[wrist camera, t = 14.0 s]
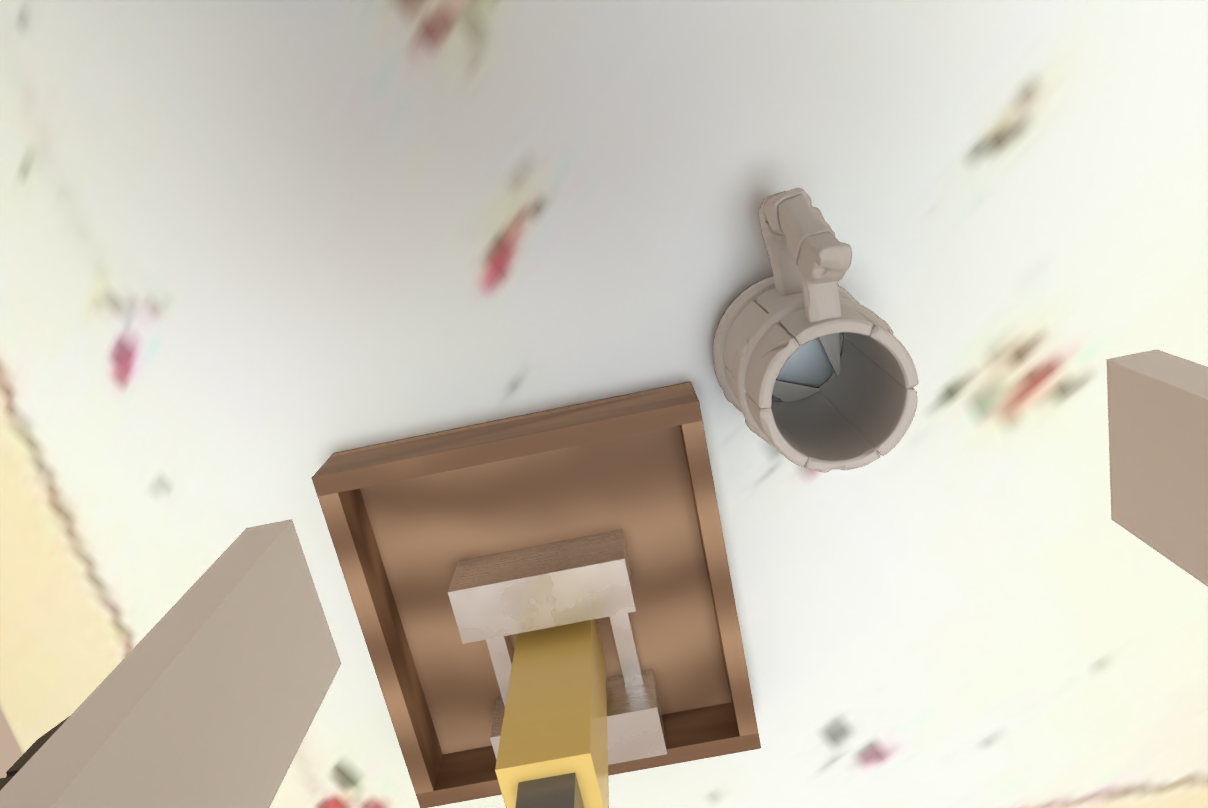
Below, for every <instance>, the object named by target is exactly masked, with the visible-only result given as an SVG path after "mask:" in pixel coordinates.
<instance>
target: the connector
mask: <svg viewBox="0 0 1208 808" xmlns="http://www.w3.org/2000/svg"><path fill="white" fill-rule="evenodd" d="M495 771H496V775H497V778H498V782H499V785H500V789H501V792H502V796H503V799H504V803H505V806H506V808H609V786H608V741H607V697H606V663H605V658H604V654H603V650H602V645H601V641H600V637H599V633H598V628H597V624H596V620H595V619H593V620H587V621H582V622H577V623H571V624H566V625H561V626H555V627H550V628H545V629H539V630H534V631H529V632H523V633H518V634H517V638H516V644H515V650H514V656H513V663H512V669H511V675H510V681H509V687H508V693H507V700H506V706H505V712H504V718H503V724H502V730H501V737H500V743H499V749H498V755H497V761H496V767H495Z"/></svg>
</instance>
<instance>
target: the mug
mask: <svg viewBox="0 0 1208 808" xmlns="http://www.w3.org/2000/svg"><path fill="white" fill-rule="evenodd" d="M759 220H760V224H761V230H762V235H763V238H764V241H765V244H766V248H767V251H768V255H769V259H770V263H771V267H772V272H773V276H772V277H769V278H766V279H764V280H761V281H759V282H758V283H756V284H754V285H752V286H750V287H749V288H748V289H746V290H745V291H744V292H742V293H741V294H740V295H739V296H738V297H737V298H736V299H735V300H734V301H733V302H732V303H731V305H730V306H729V307H728V309H727V310H726V312H725V313H724V315H723V317H722V318H721V320H720V322H719V325H718V328H717V331H716V335H715V339H714V346H713V361H714V368H715V372H716V376H717V378H718V381H719V383H720V386H721V387H722V389H723V390H724V395H725V397H726V399H727V400H728V401H729V402H731V403H733V404H734V406H735V407H736V408H737V409H739V410H740V411H741V412H742V413H743V414H744V416H745V422H746V425H747V426H748V427H749V429H750V430H751V431H753V432H754V433H756V434H757V435H758V436H759V437H761V438H762V439H764V440H765V441H766V442H767V443H769V444H770V445H772V446H773V447H775V448H776V449H777V450H778V451H779V452H780V453H781V454H782V455H784V456H785V457H786V458H787V459H788V460H790V461H791V462H793V463H795V464H797V465H799V466H801V467H803V466H804V467H805V468H806V469H810V470H815V471H820V472H828V471H830V470H832V469H841V470H850V469H854V468H858V467H862V466H865V465H867V464H869V463H871V462H873V461H874V460H876V459H878V458H879V457H880V455H882V456H884V455H886V454H887V453H888V452H889V451H890V450H892V449H893V448H894V447H895V446H896V445H897V443H898V442H899V441H900V440H901V439H902V437H903V436H904V434H905V433H906V431H907V430H908V428H909V426H910V424H911V422H912V420H913V417H914V415H915V411H916V407H917V392H916V391H915V390H914V388H913V387H915V386H916V385H917V384H918V377H917V372H916V369H915V366H914V363H913V361H912V359H911V357H910V355H909V353H908V352H907V350H906V349H905V347H904V346H903V345H902V344H901V342H900V341H899V340H898V339H897V338H896V337H895V336H894V335H893V331H892V329H891V328H890V327H889V325H888V324H887V323H886V322H885V321H884V320H882V319H881V318H879V317H878V316H877V315H876V314H875V313H873V312H872V311H871V310H869V309H867V308H866V307H864V306H862V305H861V304H860V303H859V302H858V301H857V300H855V299H854V298H853V297H852V296H851V295H850V294H849V293H848V292H847V291H845V290H844V289H843V288H842V287H840V286H839V285H838V284H837V281H838V280H840V279H842V277H843V275H844V274H845V272H846V271H847V269H848V268H849V267H850V264H851V259H852V251H851V246H850V245H848V244H845V243H841V242H839V241H838V240H837V239H836V238H835V233H834V232H833V231H832V229H831V228H830V226H829V225H828V224H827V223H826V221H825V220H824V218H823V216H822V214H821V212H820V210H819V209H818V208H815V207H813V206H812V205H811V199H810V197H809V196H808V194H807V193H806V192H805V191H804V190H803V189H801V188H796V189H792V190H789V191H784V192H780V193H777V194H774V195H771V196H768V197H767V198H765V200H764V201H763V203H762V205H761V207H760V210H759ZM840 332H842V333H843V336H844V337H843V350H842V354H841V358H840ZM818 337H819V339H820V341H821V343H822V345H823V348H824V350H825V352H826V354H827V356H828V358H829V360H830V362H831V364H832V366H833V369H834V372H833V374H832V375H831V377H830V378H829V379H828V381H826V382H825V383H824V384H822V385H821V386H820V387H819V388H814V387H809V386H804V385H798V384H793V383H788V382H782V381H777V380H776V378H777V376H778V374H779V372H780V370H781V368H782V367H783V365H784V364H785V362H786V361H787V359H788V358H789V357H790V356H791V355H792V354H793V353H794V352H795V351H796V350H797V349H798V348H799V346H800V345H803V344H805V343H807V342H809V341H811V340H813V339H815V338H818ZM772 395H773V396H775V397H777V398H779V399H781V400H782V401H773V400H772ZM879 454H880V455H879Z"/></svg>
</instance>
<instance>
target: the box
mask: <svg viewBox="0 0 1208 808" xmlns="http://www.w3.org/2000/svg"><path fill="white" fill-rule="evenodd" d="M312 480H313V483H314V486H315V489H316V493H317V496H318V499H319V502H320V505H321V508H322V511H323V514H324V517H325V520H326V523H327V526H328V529H329V532H330V535H331V538H332V541H333V544H334V547H335V550H336V553H337V556H338V559H339V562H340V565H341V568H342V571H343V575H344V578H345V581H346V584H347V587H348V590H349V593H350V596H351V599H352V602H353V605H354V608H355V611H356V614H357V617H358V620H359V623H360V626H361V629H362V632H363V635H364V638H365V641H366V644H367V647H368V650H369V653H370V657H371V660H372V663H373V666H374V669H375V672H376V675H377V678H378V681H379V684H380V687H381V690H382V693H383V696H384V699H385V702H386V705H387V708H388V711H389V714H390V717H391V720H392V723H393V726H394V729H395V732H396V735H397V739H398V742H399V745H400V748H401V751H402V754H403V757H404V760H405V763H406V766H407V769H408V772H409V775H410V778H411V781H412V784H413V787H414V790H415V793H416V796H417V799H418V802H419V805H420V808H428V807H434V806H439V805H445V804H450V803H456V802H462V801H467V800H473V799H479V798H484V797H490V796H495V795H501V794H502V792H501V789H500V785H499V782H498V778H497V775H496V771H495V767H496V761H497V760H496V757H495V753H494V750H493V747H492V743H491V740H490V734H491V729H492V723H493V718H494V712H495V707H496V701H497V697H502V696H501V692H500V689H499V685H498V681H497V678H496V674H495V671H494V667H493V664H492V660H491V657H490V653H489V649H488V646H487V642H486V640H481V641H475V642H470V643H465V644H463V643H462V640H461V637H460V633H459V630H458V626H457V623H456V619H455V616H454V612H453V609H452V606H451V602H450V599H449V595H448V590H449V587H450V584H451V581H452V578H453V575H454V572H455V569H456V566H457V563H458V561H459V560H464V559H469V558H474V557H479V556H485V555H490V554H495V553H500V552H505V551H511V550H516V549H521V548H526V547H531V546H537V545H542V544H547V543H552V542H558V541H563V540H568V539H573V538H578V537H584V536H589V535H594V534H599V533H604V532H610V531H615V530H620V529H622V530H623V535H624V539H625V544H626V548H627V553H628V558H629V562H630V567H631V571H632V576H633V583H634V594H635V605H636V612H630V618H631V622H632V627H633V631H634V636H635V640H636V645H637V650H638V654H639V659H640V663H641V668H642V671H644V670H649V669H653V673H654V677H655V682H656V687H657V691H658V696H659V700H660V705H661V710H662V715H663V723H664V731H665V739H666V748H667V754H666V755H660V756H655V757H649V758H643V759H638V760H632V761H627V762H621V763H615V764H610V765H608V775H614V774H619V773H625V772H630V771H636V770H642V769H647V768H653V767H659V766H664V765H670V764H675V763H681V762H687V761H692V760H698V759H703V758H709V757H715V756H720V755H726V754H732V753H737V752H743V751H748V750H754V749H760V748H761V745H760V740H759V734H758V729H757V723H756V717H755V712H754V706H753V701H752V695H751V689H750V684H749V678H748V673H747V667H746V662H745V656H744V650H743V645H742V639H741V634H740V628H739V622H738V617H737V611H736V606H735V600H734V595H733V589H732V583H731V578H730V572H729V567H728V561H727V555H726V550H725V544H724V539H723V533H722V528H721V522H720V516H719V511H718V505H717V500H716V494H715V488H714V483H713V477H712V472H711V466H710V460H709V455H708V449H707V444H706V438H705V433H704V427H703V421H702V416H701V410H700V405H699V400H698V398H697V396H696V393H695V391H694V389H693V386H692V384H691V382H687V383H682V384H677V385H672V386H667V387H662V388H657V389H652V390H647V391H642V392H637V393H632V394H627V395H622V396H617V397H612V398H607V399H602V400H597V401H592V402H587V403H582V404H577V405H572V406H567V407H562V408H557V409H552V410H547V411H542V412H537V413H532V414H527V415H522V416H517V417H512V418H507V419H502V420H497V421H492V422H487V423H482V424H477V425H472V426H467V427H462V428H457V429H452V430H447V431H442V432H437V433H432V434H427V435H422V436H417V437H412V438H407V439H402V440H397V441H392V442H387V443H382V444H377V445H372V446H367V447H362V448H357V449H352V450H347V451H342V452H337V453H333V454H332V456H331V457H330V458H329V459H328V460H327V461H326V462H325V463H324V465H323V466H322V467H321V468H320V469H319V470H318V471H317V473H316V474H315V475H314V476H313V477H312ZM595 620H596V624H597V628H598V633H599V637H600V641H601V645H602V650H603V654H604V658H605V663H606V677H611V676H617V675H622V669H621V665H620V661H619V656H618V652H617V647H616V643H615V639H614V634H613V630H612V626H611V621H610V617H604V618H598V619H595ZM509 637H510V640H511V644H512V648H513V651H514V650H515V644H516V638H517V634H513V635H509Z"/></svg>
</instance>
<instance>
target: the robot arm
mask: <svg viewBox="0 0 1208 808" xmlns="http://www.w3.org/2000/svg"><path fill="white" fill-rule="evenodd" d="M1107 387H1108V420H1109V453H1110V486H1111V519H1112V520H1113V521H1115V522H1116V523H1117V524H1119V525H1120V526H1122V527H1123V528H1125V529H1126V530H1127V531H1129V532H1130V533H1132V534H1133V535H1135V536H1136V537H1137V538H1139V539H1140V540H1142V541H1143V542H1145V543H1146V544H1147V545H1149V546H1150V547H1152V548H1153V549H1155V550H1156V551H1157V552H1159V553H1160V554H1162V555H1163V556H1165V557H1166V558H1168V559H1169V560H1170V561H1172V562H1173V563H1175V564H1176V565H1178V566H1179V567H1180V568H1182V569H1183V570H1185V571H1186V572H1188V573H1189V574H1190V575H1192V576H1193V577H1195V578H1196V579H1198V580H1199V581H1200V582H1202V583H1203V584H1205V585H1206V586H1208V367H1206V366H1203V365H1200V364H1197V363H1194V362H1192V361H1189V360H1186V359H1183V358H1180V357H1177V356H1174V355H1171V354H1168V353H1165V352H1162V351H1159V350H1152V351H1147V352H1142V353H1137V354H1132V355H1127V356H1122V357H1116V358H1111V359H1107ZM340 665H341V662H340V659H339V656H338V653H337V650H336V647H335V644H334V641H333V638H332V635H331V632H330V629H329V627H328V624H327V621H326V618H325V615H324V612H323V609H322V606H321V603H320V600H319V597H318V594H317V591H316V589H315V586H314V583H313V580H312V577H311V574H310V571H309V568H308V565H307V562H306V559H305V556H304V553H303V551H302V548H301V545H300V542H299V539H298V536H297V533H296V530H295V527H294V524H293V521H292V519H291V520H286V521H281V522H276V523H271V524H266V525H261V526H256V527H250V528H246V529H245V530H244V532H243V533H242V534H241V535H240V536H239V537H238V538H237V539H236V540H235V541H234V542H233V543H232V544H231V545H230V546H229V548H228V549H227V550H226V551H225V552H224V553H223V554H222V555H221V556H220V557H219V558H218V559H217V560H216V561H215V562H214V564H213V565H212V566H211V567H210V568H209V569H208V570H207V571H206V572H205V573H204V574H203V575H202V576H201V577H200V578H199V579H198V581H197V582H196V583H195V584H194V585H193V586H192V587H191V588H190V589H189V590H188V591H187V592H186V593H185V594H184V595H183V597H182V598H181V599H180V600H179V601H178V602H177V603H176V604H175V605H174V606H173V607H172V608H171V609H170V610H169V611H168V613H167V614H166V615H165V616H164V617H163V618H162V619H161V620H160V621H159V622H158V623H157V624H156V625H155V626H154V627H153V629H152V630H151V631H150V632H149V633H148V634H147V635H146V636H145V637H144V638H143V639H142V640H141V641H140V642H139V643H138V644H137V646H136V647H135V648H134V649H133V650H132V651H131V652H130V653H129V654H128V655H127V656H126V657H125V658H124V659H123V660H122V662H121V663H120V664H119V665H118V666H117V667H116V668H115V669H114V670H113V671H112V672H111V673H110V674H109V675H108V676H107V678H106V679H105V680H104V681H103V682H102V683H101V684H100V685H99V686H98V687H97V688H96V689H95V690H94V691H93V692H92V693H91V695H90V696H89V697H88V698H87V699H86V700H85V701H84V702H83V703H82V704H81V705H80V706H79V707H78V708H77V709H76V711H75V712H74V713H73V714H72V715H71V716H69V717H68V718H67V719H65V720H64V721H62V722H61V723H60V724H58V725H57V726H56V727H54V728H53V729H51V730H50V731H49V732H47V733H46V734H45V735H43V736H42V737H40V738H39V739H38V740H37V741H36V742H35V743H34V744H33V745H32V746H31V747H30V748H29V749H28V750H27V751H26V752H25V753H24V754H23V755H22V756H21V757H20V759H19V760H18V761H17V762H16V763H15V764H14V765H13V766H12V767H11V768H10V769H9V770H8V771H7V772H6V773H7V777H6V778H1V779H0V808H269V807H270V805H271V803H272V801H273V799H274V797H275V795H276V793H277V791H278V789H279V787H280V785H281V783H282V781H283V779H284V777H285V775H286V773H287V771H288V769H289V767H290V765H291V763H292V761H293V759H294V757H295V755H296V753H297V751H298V749H299V747H300V745H301V743H302V741H303V739H304V737H305V735H306V733H307V731H308V729H309V727H310V725H311V723H312V721H313V719H314V717H315V715H316V713H317V711H318V709H319V707H320V705H321V703H322V701H323V699H324V697H325V695H326V693H327V691H328V689H329V687H330V685H331V683H332V681H333V679H334V677H335V675H336V673H337V671H338V669H339V667H340Z"/></svg>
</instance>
